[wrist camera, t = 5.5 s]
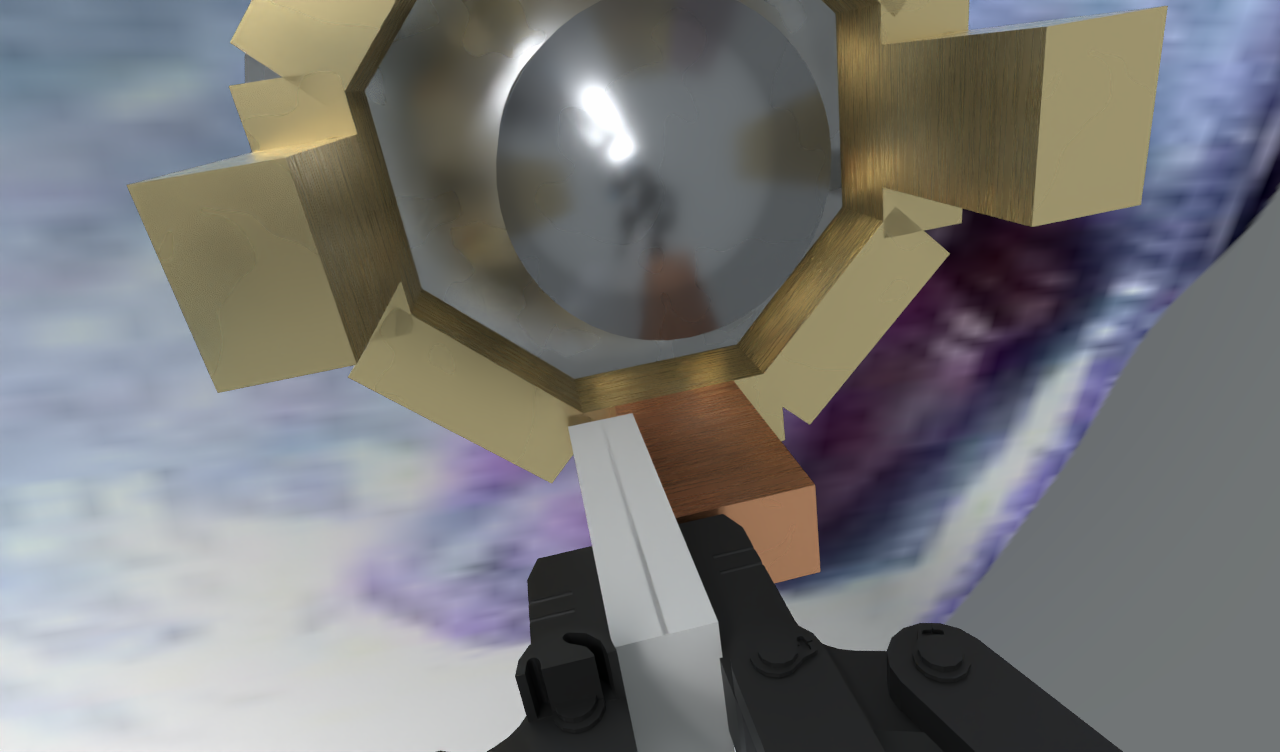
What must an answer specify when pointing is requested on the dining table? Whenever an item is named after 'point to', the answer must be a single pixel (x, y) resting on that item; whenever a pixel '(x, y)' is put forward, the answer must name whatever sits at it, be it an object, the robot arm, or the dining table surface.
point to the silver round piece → (610, 165)
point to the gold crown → (677, 387)
